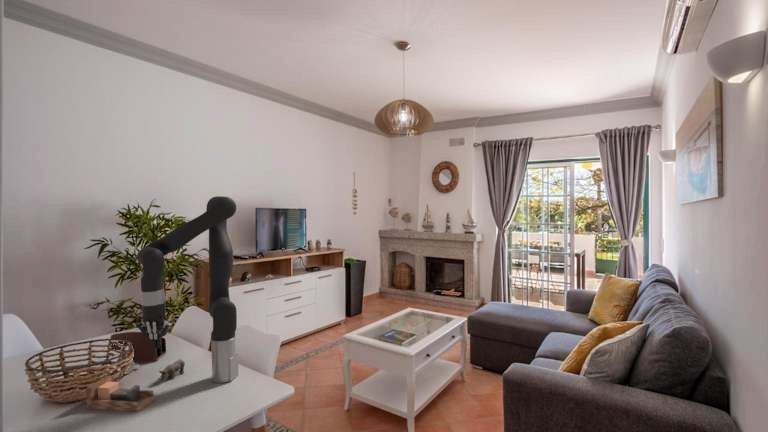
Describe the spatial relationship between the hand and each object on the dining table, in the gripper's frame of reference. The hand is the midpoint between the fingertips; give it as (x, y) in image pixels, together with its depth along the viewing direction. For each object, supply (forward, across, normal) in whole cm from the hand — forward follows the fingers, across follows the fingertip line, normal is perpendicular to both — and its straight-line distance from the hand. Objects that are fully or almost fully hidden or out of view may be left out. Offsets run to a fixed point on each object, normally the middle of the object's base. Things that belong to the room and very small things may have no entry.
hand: (156, 348), depth 145 cm
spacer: (+19, -18, -3) cm, 26 cm away
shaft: (+18, -11, -3) cm, 22 cm away
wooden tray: (+20, -13, -3) cm, 24 cm away
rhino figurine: (+21, -7, +18) cm, 28 cm away
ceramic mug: (+20, -31, +21) cm, 42 cm away
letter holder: (+21, -35, +34) cm, 53 cm away
